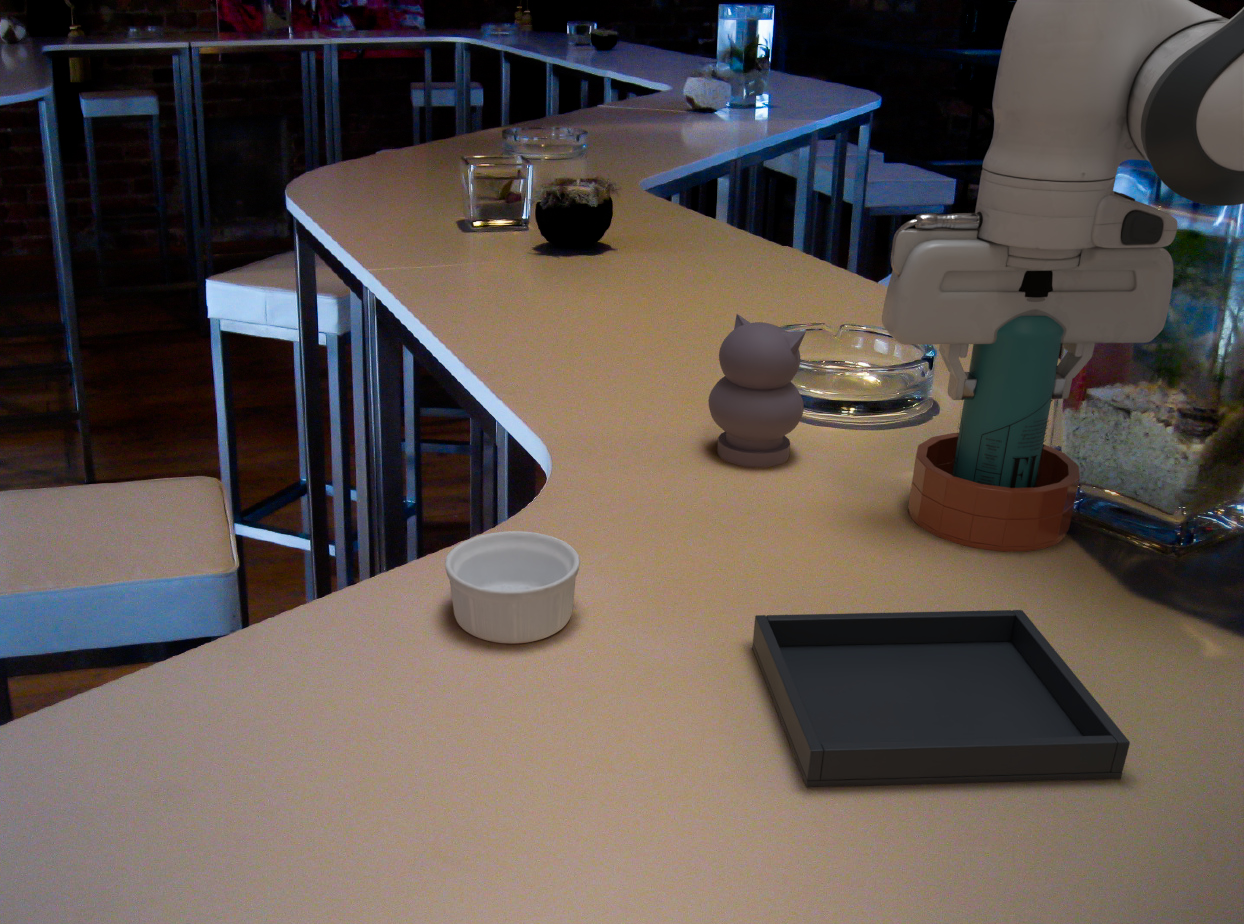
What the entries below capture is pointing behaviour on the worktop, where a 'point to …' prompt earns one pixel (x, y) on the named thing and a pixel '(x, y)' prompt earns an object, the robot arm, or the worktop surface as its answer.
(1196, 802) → the worktop surface
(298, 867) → the worktop surface
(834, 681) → the tray
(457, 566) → the ramekin
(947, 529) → the bowl
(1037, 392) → the beverage bottle
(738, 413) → the cat figurine
